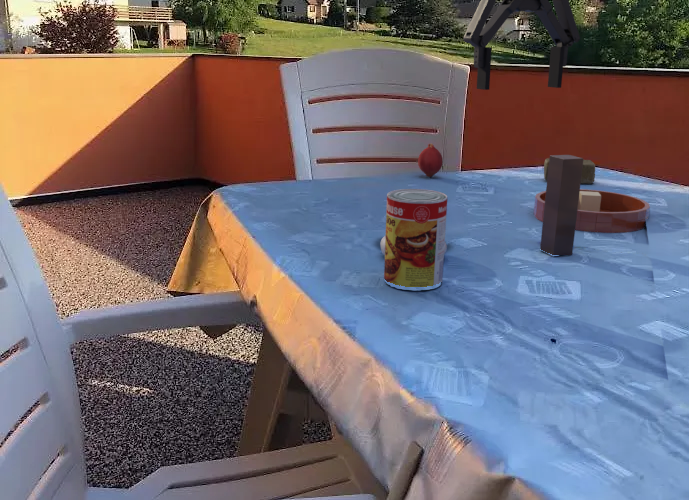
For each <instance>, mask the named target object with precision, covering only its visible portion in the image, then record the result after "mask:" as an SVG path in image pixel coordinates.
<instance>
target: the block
mask: <svg viewBox="0 0 689 500" xmlns="http://www.w3.org/2000/svg"><path fill="white" fill-rule="evenodd" d="M600 203H601V195H600V194H599V192H588V191H580V193H579V201H578V210H584V211H595V212H599V211H600Z"/></svg>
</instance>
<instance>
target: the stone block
mask: <svg viewBox="0 0 689 500" xmlns="http://www.w3.org/2000/svg"><path fill="white" fill-rule="evenodd" d="M549 158H550V157H547V158H545V160H544V164H543V179H544V181H546V182H547V177H548V168H549ZM595 177H596V164H595V163H594V162H593V161H592V160H591V159H583V167H582V176H581V184H580V185H591V184H593V183H594V182H595V181H596V179H595Z"/></svg>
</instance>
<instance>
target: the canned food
mask: <svg viewBox="0 0 689 500" xmlns="http://www.w3.org/2000/svg"><path fill="white" fill-rule="evenodd" d="M447 212H448V195H447V194H445V193H444V192H441V191H438V190H433V189H425V188H424V189H423V188H401V189H395V190H391V191H389V192H388V193H386V214H385V235H386V238H385V255H384V266H383V267H384V269H383V270H384V271H383V272H384V273H383V280H384V279H385V280H386V281H387V282H390V283H393V284H395V285H399V286H400V285H401V286H405V287H427V286H433V285H436V284H439V283H440V282H442V283H443V279H444V278H443V277H444V261H445V254H444V247H445V242H446V230H447V229H446V227H447Z"/></svg>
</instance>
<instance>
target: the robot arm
mask: <svg viewBox="0 0 689 500" xmlns="http://www.w3.org/2000/svg"><path fill="white" fill-rule="evenodd" d="M496 1H497V0H479V3H478V5H477V8H476V10H475V12H474V14H473V16H472V18H471V20H470V22H469V24H468V26H467V29H466V31H465V33H464V35H463V38H462V39H463V42H464V43H468V44H470V46H471V47H473V48H474V49H473V66H474V68H477V71H476V72H477V73H476V74H477V75H476V90H484V91H488V90H490V85H491V67H492V66H491V65H492V46H490V47H489V46H488V45H489V43H490V42H491V40H492V39H493V38H494V36H495V35H496V34H497V33H498V31H499V30H500V29H501V28H502V26H503V25H504V24H505V22H506V21H507V19H508V18H509V17H510V16H511V15H512V14H514V12H515V13H517V12H525V13H534V14H535V15H537V17H538V18H539V20H540V21H541V23H542V25H543V26H544V28H545V29H546V31H547V33H548V35H549V36H550V38H551V39H552V41H553V43H554V44H555V46H550V51H549V65H548V77H547V79H548V81H547V87H548V88H556V89H561V88H562V83H563V71H564V67H565V68H566V66H567V64H568V53H569V47H572V46H573V45H574V44H575V43H579V42H580V40H581V36H580V34H579V29H578V27H577V24H576V19H575V17H574V14H573V11H572V7H571V4H570V1H569V0H552V3H553V6H552V4H551V2H550V0H502V1H501V2H500V4H499V5H498V6H497V8H496V11H495V12H494V14H493V15H492V16H491V17H490V18H489V16H490V14H491V12H492V10H493V8H494V6H495V3H496ZM553 8H554V10H555V12H554V11H553ZM488 19H489V20H488ZM487 20H488V21H487Z"/></svg>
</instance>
